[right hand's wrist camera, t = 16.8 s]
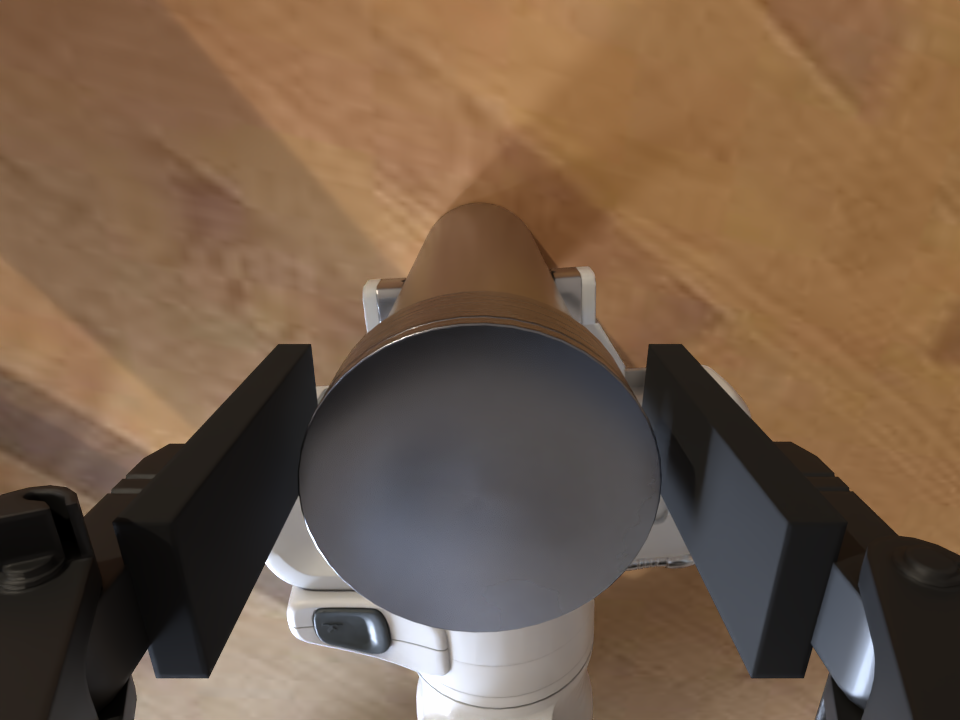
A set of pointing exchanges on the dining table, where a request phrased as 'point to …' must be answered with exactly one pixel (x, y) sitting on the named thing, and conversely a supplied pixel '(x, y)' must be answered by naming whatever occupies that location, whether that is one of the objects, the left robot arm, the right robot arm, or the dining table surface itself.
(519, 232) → the metal thermos flask
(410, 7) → the dining table surface
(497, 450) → the lid
